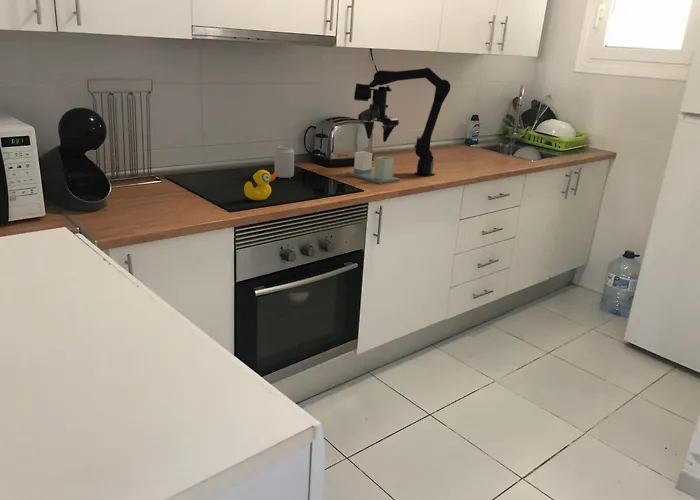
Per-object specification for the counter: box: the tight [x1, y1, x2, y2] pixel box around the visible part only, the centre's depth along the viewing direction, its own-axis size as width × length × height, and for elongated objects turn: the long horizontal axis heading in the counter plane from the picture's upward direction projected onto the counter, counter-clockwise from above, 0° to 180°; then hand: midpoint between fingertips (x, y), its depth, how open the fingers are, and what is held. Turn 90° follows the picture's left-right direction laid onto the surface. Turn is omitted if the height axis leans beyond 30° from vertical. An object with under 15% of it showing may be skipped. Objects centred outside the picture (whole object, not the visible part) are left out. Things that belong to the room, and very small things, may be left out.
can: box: [274, 145, 295, 179], centre depth 226 cm, size 8×8×12 cm
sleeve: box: [353, 150, 373, 174], centre depth 238 cm, size 5×5×8 cm
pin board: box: [345, 156, 401, 185], centre depth 234 cm, size 11×20×9 cm, turn 42°
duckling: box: [243, 169, 277, 201], centre depth 193 cm, size 11×5×10 cm, turn 125°
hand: (376, 140), depth 244 cm, fingers open, 9 cm apart
